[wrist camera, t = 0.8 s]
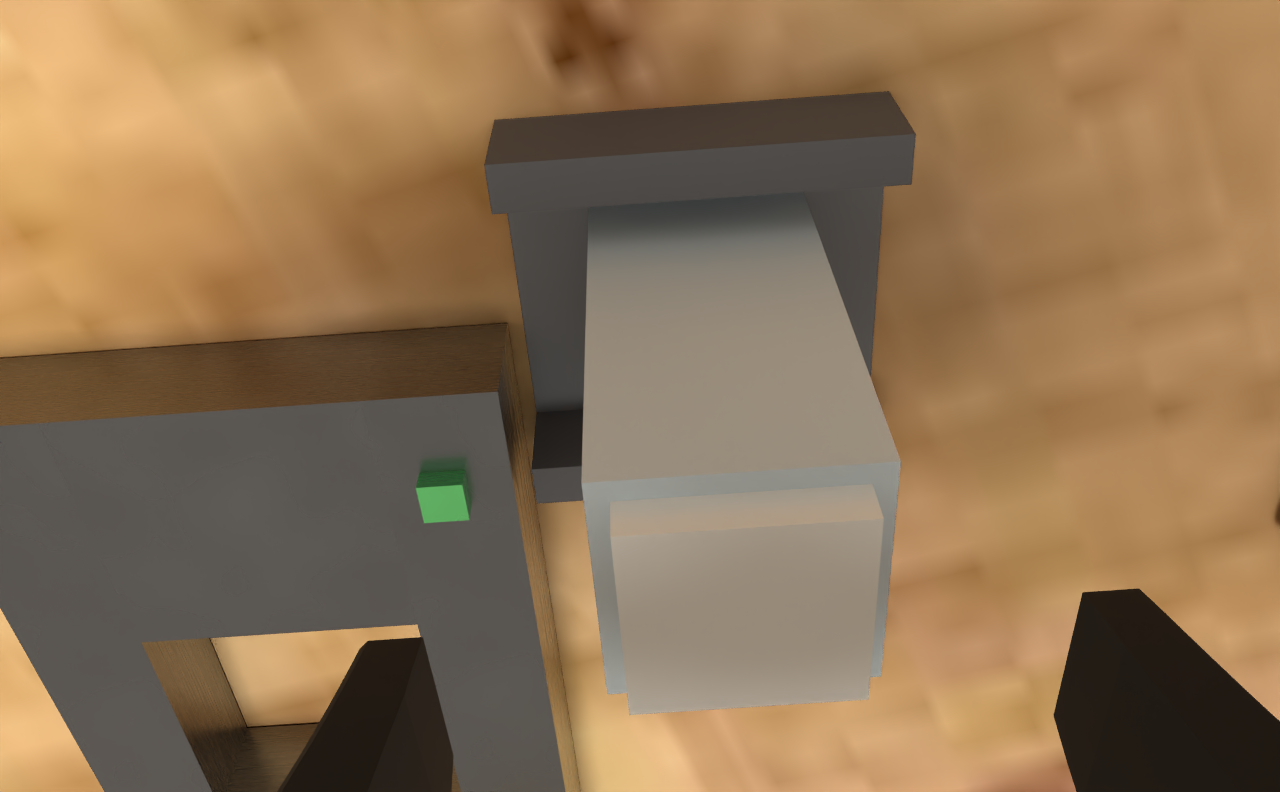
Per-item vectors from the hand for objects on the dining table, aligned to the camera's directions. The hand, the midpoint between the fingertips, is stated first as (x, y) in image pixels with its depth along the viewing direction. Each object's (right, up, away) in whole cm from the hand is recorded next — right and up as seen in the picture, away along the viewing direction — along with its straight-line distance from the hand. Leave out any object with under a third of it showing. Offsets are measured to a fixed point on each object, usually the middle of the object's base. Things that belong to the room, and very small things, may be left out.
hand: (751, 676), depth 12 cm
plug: (0, +5, +7) cm, 9 cm away
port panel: (-8, -2, +12) cm, 15 cm away
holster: (0, +5, +7) cm, 9 cm away
